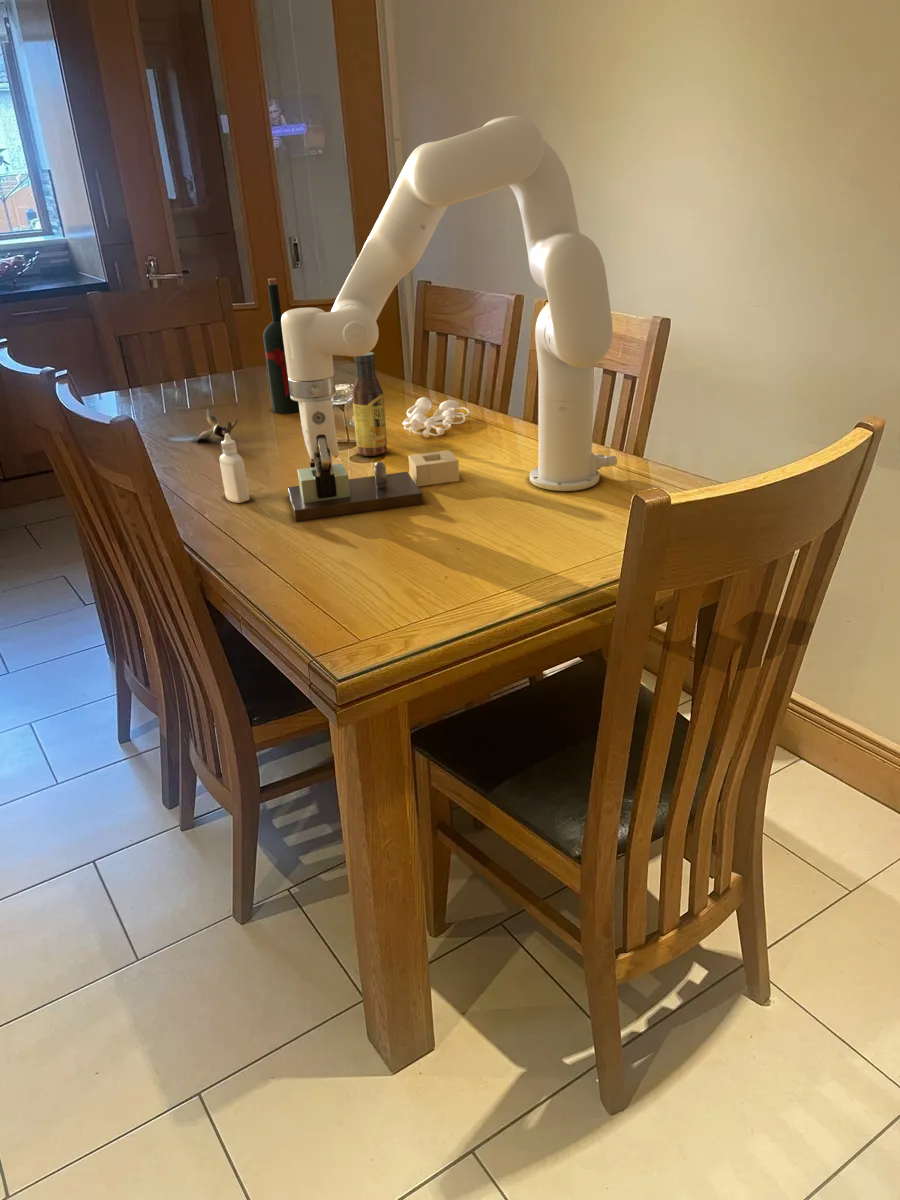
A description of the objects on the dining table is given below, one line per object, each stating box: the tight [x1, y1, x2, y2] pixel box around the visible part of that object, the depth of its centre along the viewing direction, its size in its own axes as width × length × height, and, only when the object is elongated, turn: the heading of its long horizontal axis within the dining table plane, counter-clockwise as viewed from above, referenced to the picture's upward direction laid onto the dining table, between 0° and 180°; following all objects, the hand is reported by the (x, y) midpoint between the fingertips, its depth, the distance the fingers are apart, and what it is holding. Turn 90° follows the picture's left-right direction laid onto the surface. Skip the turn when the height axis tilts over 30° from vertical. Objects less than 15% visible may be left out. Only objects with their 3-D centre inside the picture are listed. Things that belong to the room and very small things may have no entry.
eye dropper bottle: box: [218, 433, 250, 504], centre depth 153 cm, size 4×6×12 cm
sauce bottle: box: [351, 351, 388, 457], centre depth 172 cm, size 6×6×20 cm
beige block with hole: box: [407, 449, 460, 487], centre depth 160 cm, size 8×6×4 cm
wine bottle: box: [262, 277, 300, 414], centre depth 202 cm, size 8×10×30 cm
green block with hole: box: [296, 463, 350, 503], centre depth 150 cm, size 8×6×4 cm
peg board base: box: [287, 461, 424, 522], centre depth 151 cm, size 22×12×6 cm, turn 105°
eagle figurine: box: [194, 408, 239, 442], centre depth 188 cm, size 8×7×9 cm
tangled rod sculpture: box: [402, 396, 471, 439], centre depth 190 cm, size 19×14×4 cm
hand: (324, 489), depth 150 cm, fingers closed on green block with hole, 6 cm apart
